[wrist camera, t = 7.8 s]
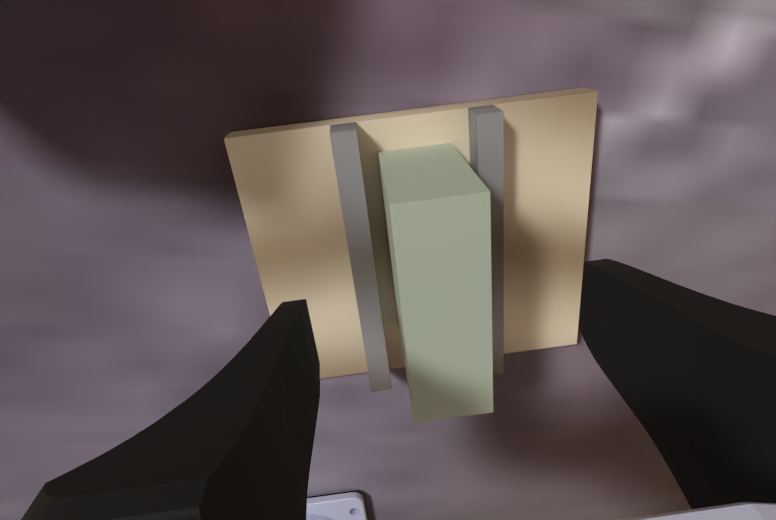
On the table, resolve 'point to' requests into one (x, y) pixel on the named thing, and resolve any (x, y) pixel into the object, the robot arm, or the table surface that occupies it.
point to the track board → (369, 229)
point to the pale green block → (441, 278)
